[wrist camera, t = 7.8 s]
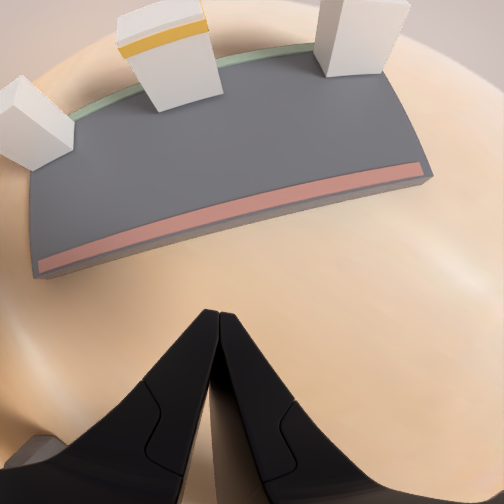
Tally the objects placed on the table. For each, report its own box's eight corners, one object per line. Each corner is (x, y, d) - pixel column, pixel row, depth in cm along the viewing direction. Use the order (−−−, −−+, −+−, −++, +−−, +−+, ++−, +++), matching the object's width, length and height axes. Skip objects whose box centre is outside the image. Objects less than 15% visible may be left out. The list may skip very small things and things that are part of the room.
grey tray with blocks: (421, 184, 20) (498, 125, 10) (48, 279, 21) (-43, 270, 11) (358, 54, 22) (383, -26, 12) (45, 142, 23) (-19, 97, 13)
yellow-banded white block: (224, 93, 19) (204, 13, 11) (158, 113, 19) (114, 43, 12) (217, 66, 20) (197, -10, 12) (155, 85, 20) (117, 16, 12)
